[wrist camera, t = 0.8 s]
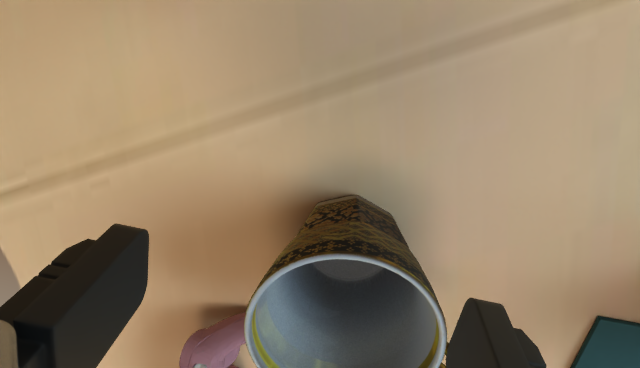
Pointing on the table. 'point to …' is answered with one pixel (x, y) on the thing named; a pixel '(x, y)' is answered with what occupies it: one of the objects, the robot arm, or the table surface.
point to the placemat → (610, 345)
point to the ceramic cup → (346, 297)
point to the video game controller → (215, 345)
